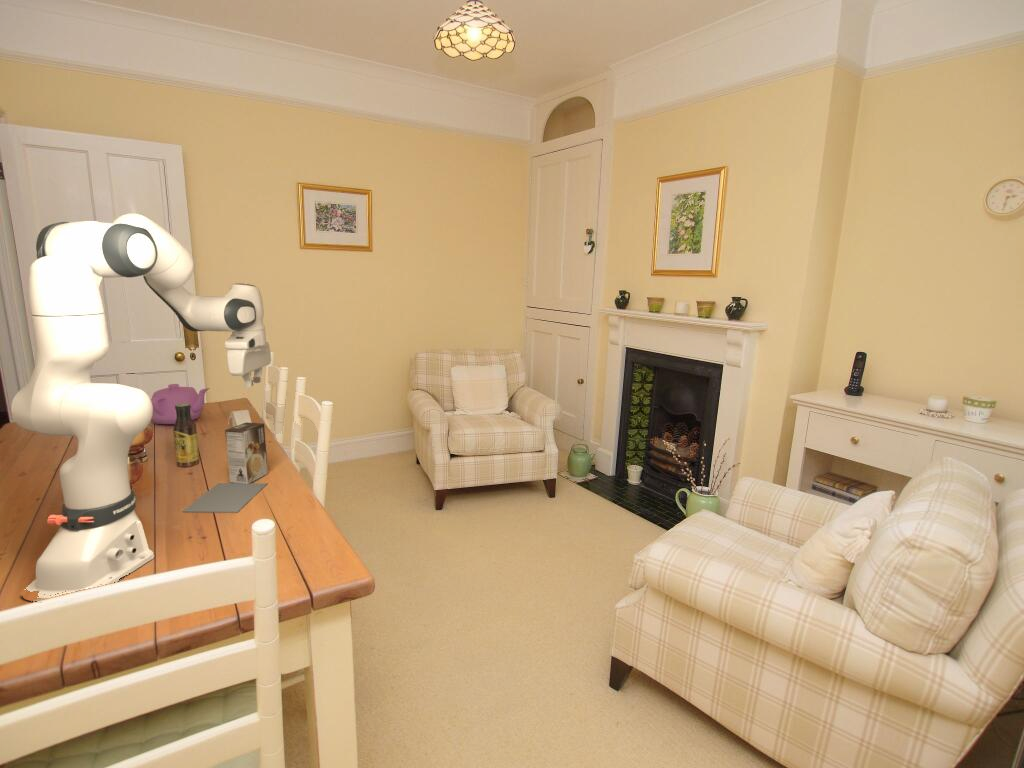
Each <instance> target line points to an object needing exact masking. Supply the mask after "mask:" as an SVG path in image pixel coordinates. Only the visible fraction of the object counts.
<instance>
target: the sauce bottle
mask: <svg viewBox="0 0 1024 768" xmlns="http://www.w3.org/2000/svg"><path fill="white" fill-rule="evenodd" d="M190 408H191V406H190V403H179V404H176V405H175V409H176V414H177V417H176V418H177V419H176V422H175V424H174V427H173V430H172V432H173V444H174V453H175V461H176V464H177V467H183V468H188V467H193V466H195V465H197V464H199V462H200V456H199V444H198V443H199V442H198V441H199V440H198V432H197V424H196V422H195V421H194V420H192V419H191V414H190Z"/></svg>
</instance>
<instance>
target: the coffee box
mask: <svg viewBox="0 0 1024 768" xmlns="http://www.w3.org/2000/svg"><path fill="white" fill-rule="evenodd" d="M224 433H225V445H226V453H227V463H228V464H227V465H228V476H229V477H228V478H229V483H242V484H249V483H253V482H255V481H256V480H258V479H260V478H262V477H264V476H266V475H268V474H269V468H268V467H269V466H268V458H267V446H266V445H267V443H266V442H267V441H266V432H265V423H260V422H259V423H257V422H252V423H247V422H246V423H243V424H241V425H238V426H235V427H233V426H232V427H229V428H227V429H225V430H224Z"/></svg>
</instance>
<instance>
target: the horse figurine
mask: <svg viewBox="0 0 1024 768" xmlns="http://www.w3.org/2000/svg"><path fill="white" fill-rule="evenodd" d="M230 420H231V424H232V427H235V426H238V425H241V424H243V423H246V422H247V423H253V422H252V419H251V415H250V411H249V409H238V410H232V411H230V413H229V416H228V420H227V426H229V425H230Z"/></svg>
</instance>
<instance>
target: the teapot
mask: <svg viewBox="0 0 1024 768" xmlns="http://www.w3.org/2000/svg"><path fill="white" fill-rule="evenodd" d="M208 390H210V387H206V388H202V389H200V390H199V392H197V390H196V389H195V388H194V387H192V386H180V384H178V383H170V384H167V387H165V388H162V389H159V390H156V391H155V392H153V394H152V396H151V398H150V399H151V402H152V405H153V415H152V419H151V421H150V422H152V423H153V424H158V425H175V422H176V419H177V418H176V417H177V414H176V409H175V405H176V404H179V403H190V406H191V408H190V414H191V419H192V420H193V421H194V420H196V419H199V418H200V417H201V416H202V414H203V412H204V406H205V395H206V392H207V391H208Z"/></svg>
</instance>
